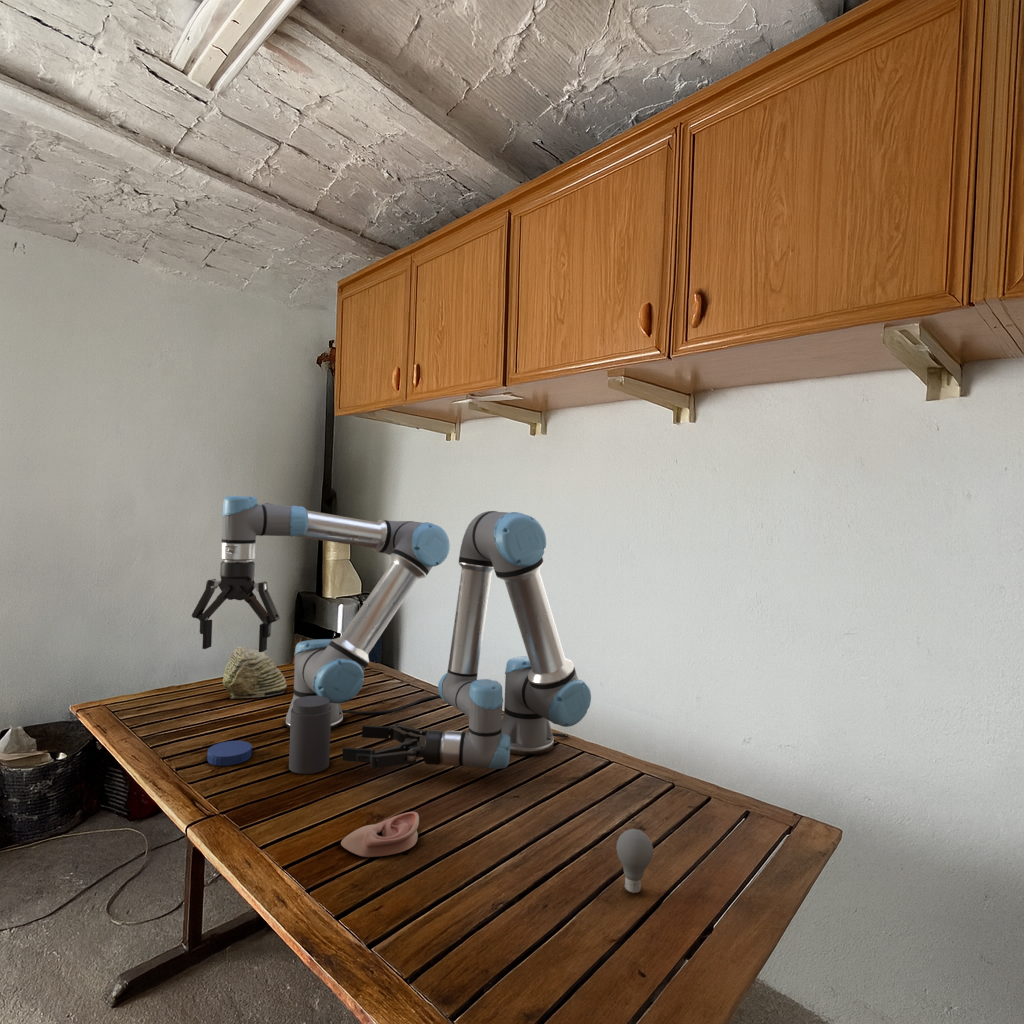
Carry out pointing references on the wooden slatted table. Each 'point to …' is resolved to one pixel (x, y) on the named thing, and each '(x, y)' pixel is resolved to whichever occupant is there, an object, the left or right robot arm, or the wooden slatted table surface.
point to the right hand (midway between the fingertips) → (353, 742)
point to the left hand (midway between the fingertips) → (234, 649)
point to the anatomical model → (384, 836)
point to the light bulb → (634, 857)
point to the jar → (310, 735)
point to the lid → (229, 753)
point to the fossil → (252, 675)
